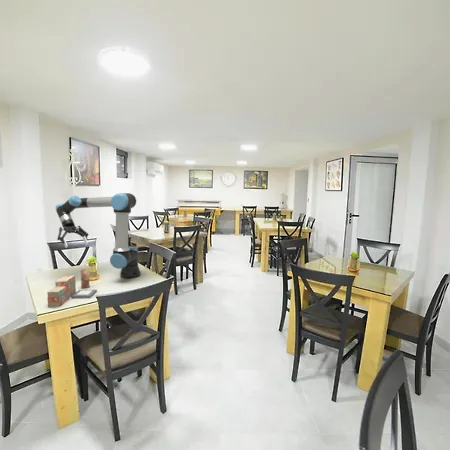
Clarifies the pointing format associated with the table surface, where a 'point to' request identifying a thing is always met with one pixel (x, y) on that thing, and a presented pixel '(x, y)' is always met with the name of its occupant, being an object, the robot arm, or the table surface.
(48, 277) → the table surface
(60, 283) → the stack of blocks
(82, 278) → the column
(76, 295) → the base board
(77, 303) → the table surface
